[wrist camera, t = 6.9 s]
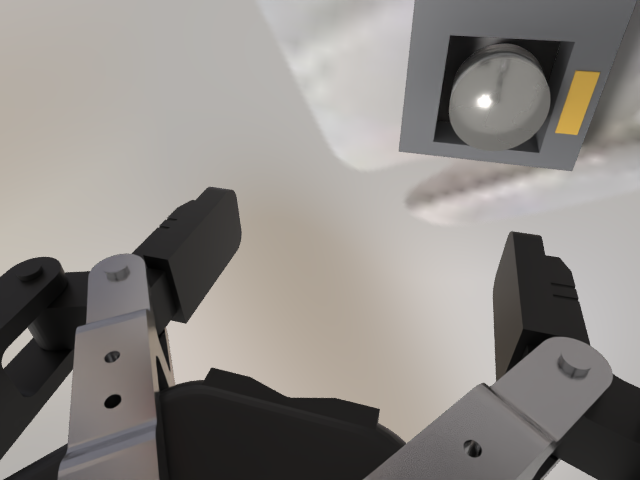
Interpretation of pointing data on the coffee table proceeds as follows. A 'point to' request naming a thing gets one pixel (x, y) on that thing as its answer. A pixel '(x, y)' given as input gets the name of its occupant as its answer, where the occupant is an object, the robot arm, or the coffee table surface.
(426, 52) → the panel
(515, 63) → the button
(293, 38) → the coffee table surface
